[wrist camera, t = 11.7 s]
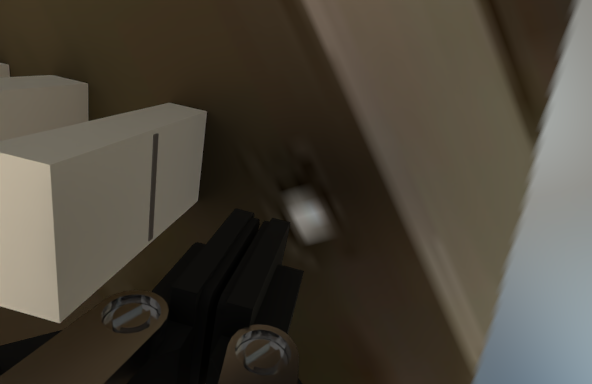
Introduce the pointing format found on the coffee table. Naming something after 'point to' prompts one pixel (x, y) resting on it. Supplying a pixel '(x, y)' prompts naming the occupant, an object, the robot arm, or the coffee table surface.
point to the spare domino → (91, 202)
